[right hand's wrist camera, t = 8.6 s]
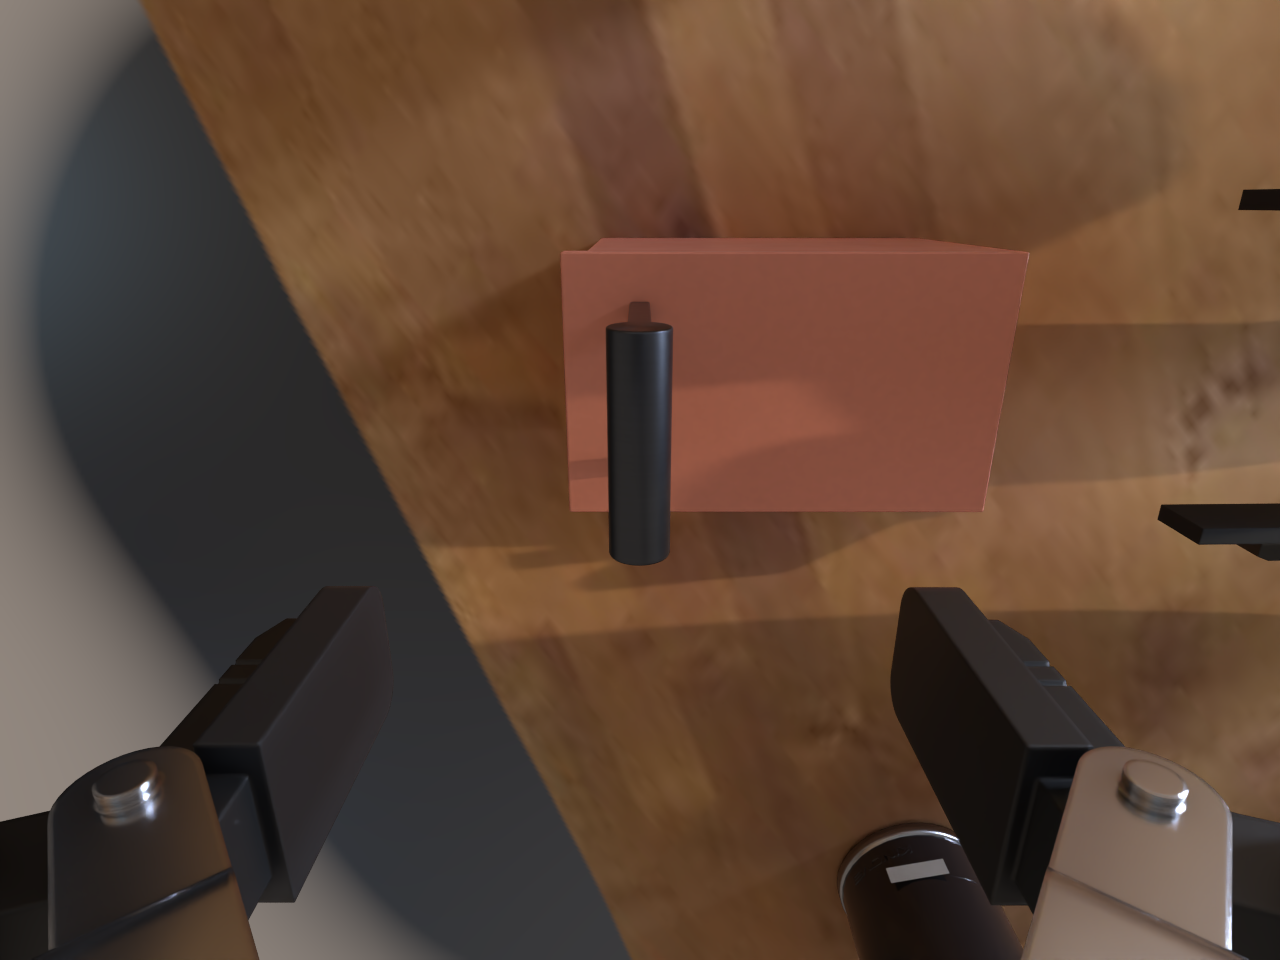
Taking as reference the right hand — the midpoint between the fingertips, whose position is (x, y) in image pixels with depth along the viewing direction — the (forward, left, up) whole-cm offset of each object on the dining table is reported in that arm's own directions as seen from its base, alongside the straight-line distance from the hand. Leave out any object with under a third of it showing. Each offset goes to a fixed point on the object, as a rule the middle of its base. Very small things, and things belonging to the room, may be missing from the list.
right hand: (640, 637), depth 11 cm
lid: (-3, -4, -17) cm, 18 cm away
